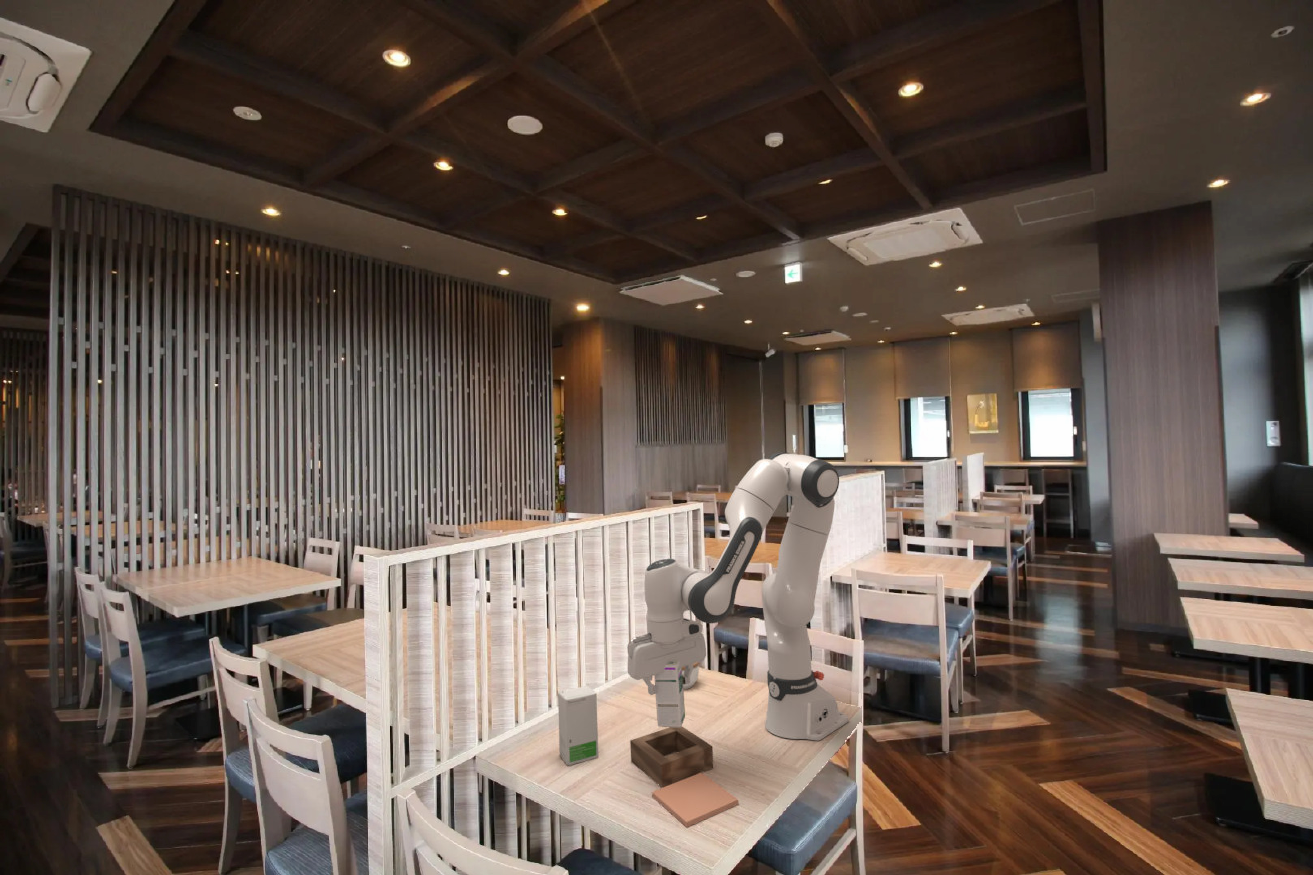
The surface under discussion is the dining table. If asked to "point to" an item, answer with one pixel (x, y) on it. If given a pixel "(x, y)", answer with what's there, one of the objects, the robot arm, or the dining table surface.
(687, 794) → the terracotta tile
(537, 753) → the dining table surface
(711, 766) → the holder sleeve
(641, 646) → the robot arm
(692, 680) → the lidded jar
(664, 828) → the dining table surface
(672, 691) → the syrup box
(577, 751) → the skincare box
